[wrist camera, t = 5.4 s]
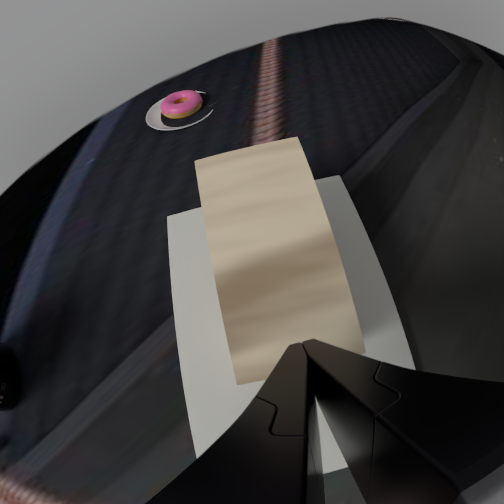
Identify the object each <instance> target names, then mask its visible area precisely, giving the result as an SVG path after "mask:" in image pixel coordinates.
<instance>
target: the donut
mask: <svg viewBox="0 0 504 504" xmlns="http://www.w3.org/2000/svg"><path fill="white" fill-rule="evenodd" d="M199 93H204V92H199V91H192V90H184V91H179V92H175V93H173V94H170V95H169V96H167V97H166V98H164V99H162V100H160V101H159V102H157V103H156V104H154V105H153V106H152V107H151V108H150V110H149V111H148V113H147V115H146V122H147V124H148V125H149V126H150V127H152V128H154V129H158V130H176V129H182V128H185V127H189V126H191V125H194V124H196V123H198V122H200V121H202V120H204V119H205V118H206V117H208V116H209V114H210V113H211V112H212V111H211V112H210V113H209V114H208V115H207V116H205V117H204V118H202V119H201V120H199V121H197V122H195V123H192V124H190V125H186V126H183V127H167V126H165V125H164V124H163V123H162V122H161V116H160V115H161V112H162V114H163V115H165V116H166V117H168V118H171V119H180V118H185V117H188V116H190V115H192V114H194V113H195V112H197V111H198V110H199V109H200V108H201V106H202V103H203V100H202V98H201V96H200V94H199Z"/></svg>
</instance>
